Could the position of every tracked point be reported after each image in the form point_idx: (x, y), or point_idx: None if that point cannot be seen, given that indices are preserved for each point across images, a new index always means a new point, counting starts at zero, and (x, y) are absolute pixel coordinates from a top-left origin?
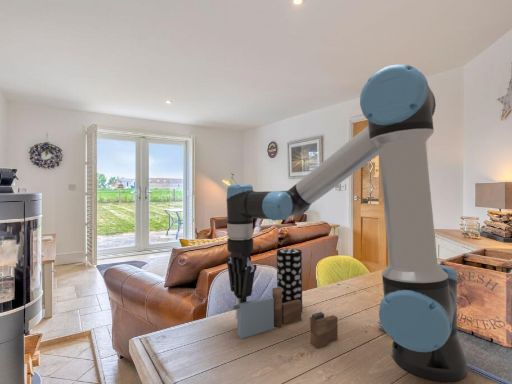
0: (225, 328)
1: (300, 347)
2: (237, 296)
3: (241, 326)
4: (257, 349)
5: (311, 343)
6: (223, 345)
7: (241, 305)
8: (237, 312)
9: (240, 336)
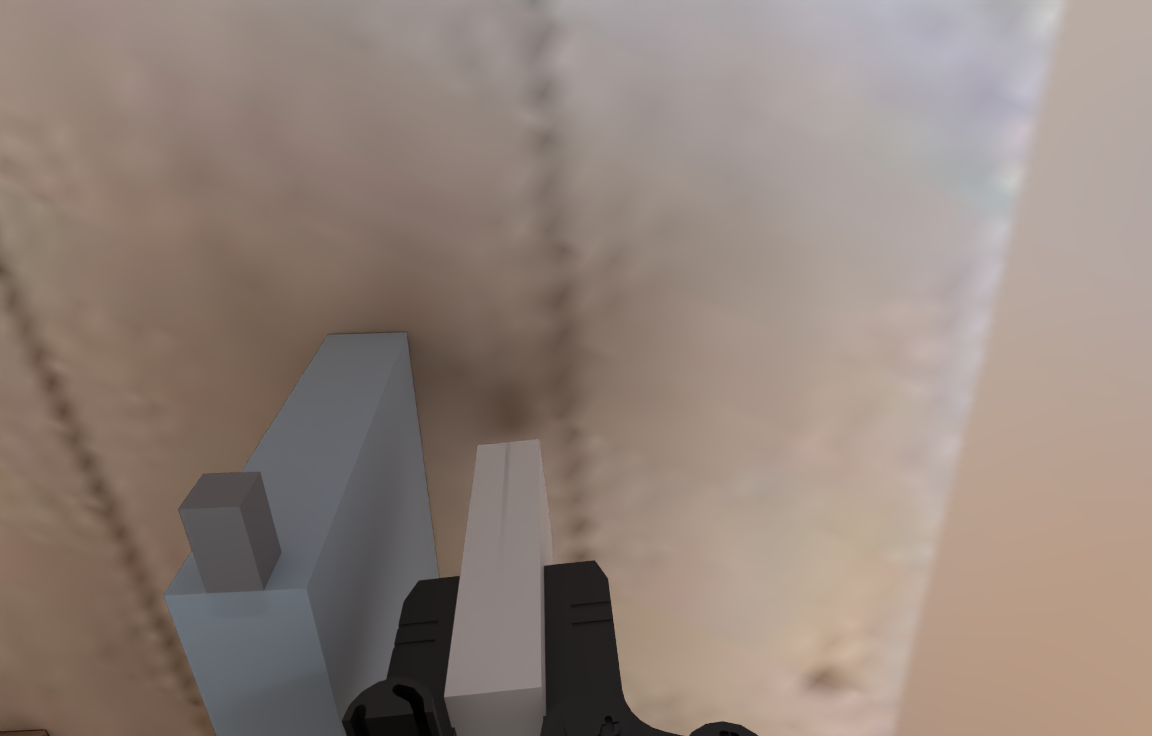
0: (638, 292)
1: (3, 656)
2: (388, 716)
3: (286, 407)
4: (66, 378)
5: (33, 733)
6: (268, 108)
7: (197, 618)
8: (339, 488)
9: (333, 343)
